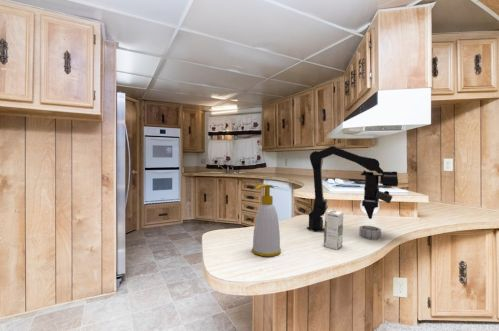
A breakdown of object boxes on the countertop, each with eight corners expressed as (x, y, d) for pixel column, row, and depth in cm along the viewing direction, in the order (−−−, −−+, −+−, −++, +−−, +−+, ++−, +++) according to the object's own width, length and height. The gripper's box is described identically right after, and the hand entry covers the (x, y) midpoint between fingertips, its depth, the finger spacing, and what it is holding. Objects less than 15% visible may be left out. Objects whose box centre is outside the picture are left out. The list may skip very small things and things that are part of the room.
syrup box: (328, 242, 104) (329, 209, 104) (342, 246, 101) (343, 211, 100) (323, 246, 100) (324, 211, 99) (337, 250, 96) (338, 214, 95)
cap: (371, 239, 110) (371, 230, 109) (361, 235, 114) (361, 227, 114) (378, 237, 112) (378, 229, 112) (368, 234, 116) (369, 226, 116)
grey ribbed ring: (371, 240, 107) (372, 232, 107) (355, 234, 115) (355, 226, 115) (384, 238, 111) (385, 229, 111) (368, 232, 119) (368, 224, 119)
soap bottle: (245, 251, 94) (245, 184, 93) (265, 243, 102) (265, 182, 101) (267, 260, 86) (268, 187, 85) (286, 251, 94) (287, 184, 93)
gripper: (392, 189, 100) (390, 226, 101) (391, 184, 116) (389, 216, 117) (362, 187, 105) (361, 222, 106) (365, 183, 122) (364, 213, 122)
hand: (370, 218), depth 113 cm, fingers closed
